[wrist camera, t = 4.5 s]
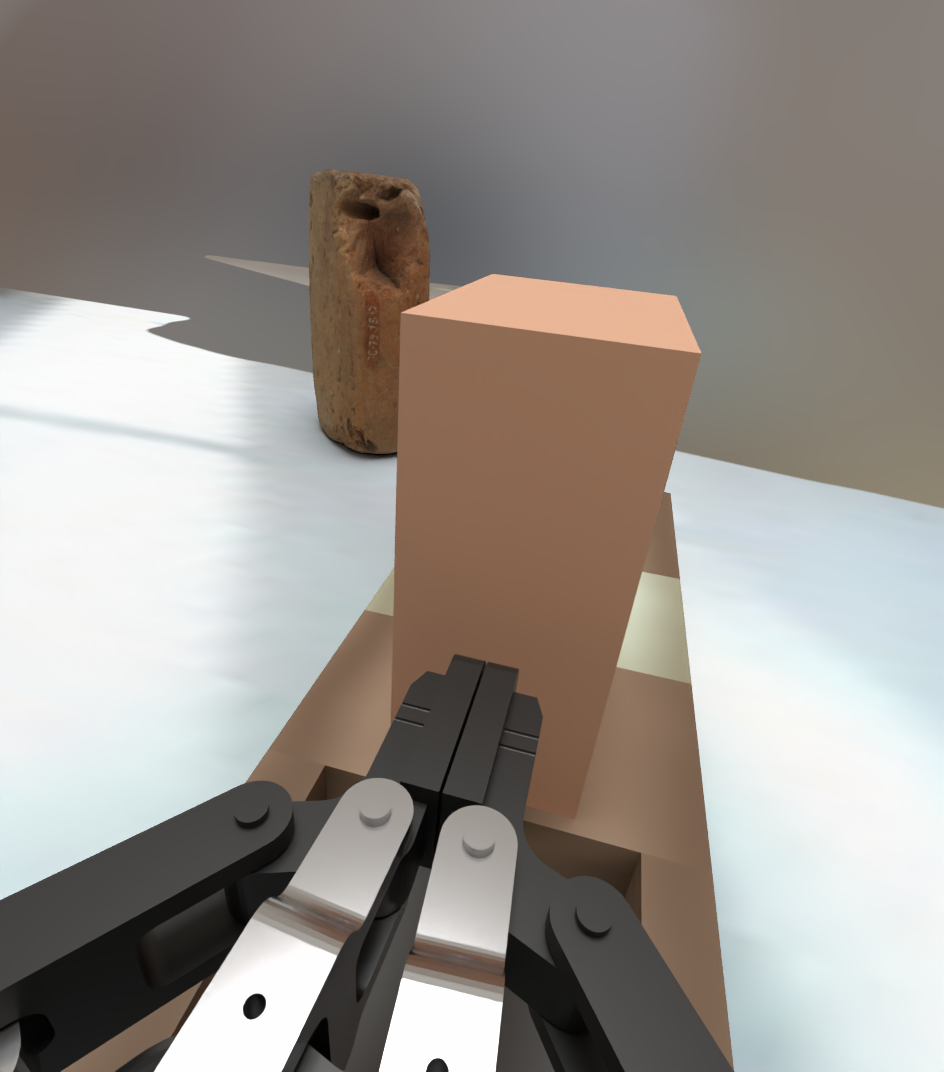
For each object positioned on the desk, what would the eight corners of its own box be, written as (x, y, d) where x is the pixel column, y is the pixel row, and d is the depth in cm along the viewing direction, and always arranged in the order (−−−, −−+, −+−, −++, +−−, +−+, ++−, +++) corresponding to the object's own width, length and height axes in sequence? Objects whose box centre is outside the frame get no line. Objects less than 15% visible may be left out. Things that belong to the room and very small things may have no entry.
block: (310, 420, 55) (297, 166, 45) (387, 414, 58) (390, 176, 48) (345, 465, 47) (339, 168, 37) (432, 455, 50) (448, 180, 40)
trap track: (-21, 1293, 12) (-79, 1251, 10) (466, 495, 44) (469, 458, 42) (730, 1661, 9) (800, 1679, 8) (659, 531, 42) (670, 493, 40)
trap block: (389, 768, 19) (400, 312, 12) (461, 609, 27) (492, 274, 20) (574, 819, 18) (701, 353, 11) (593, 639, 26) (676, 296, 19)
